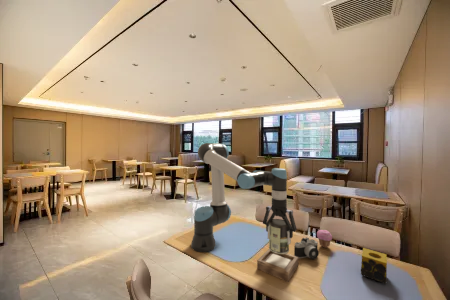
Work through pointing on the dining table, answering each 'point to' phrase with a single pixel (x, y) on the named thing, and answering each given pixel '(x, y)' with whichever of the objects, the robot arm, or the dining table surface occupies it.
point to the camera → (306, 248)
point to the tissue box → (374, 265)
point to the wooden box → (278, 264)
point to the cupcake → (324, 238)
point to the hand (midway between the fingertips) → (278, 240)
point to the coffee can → (278, 236)
